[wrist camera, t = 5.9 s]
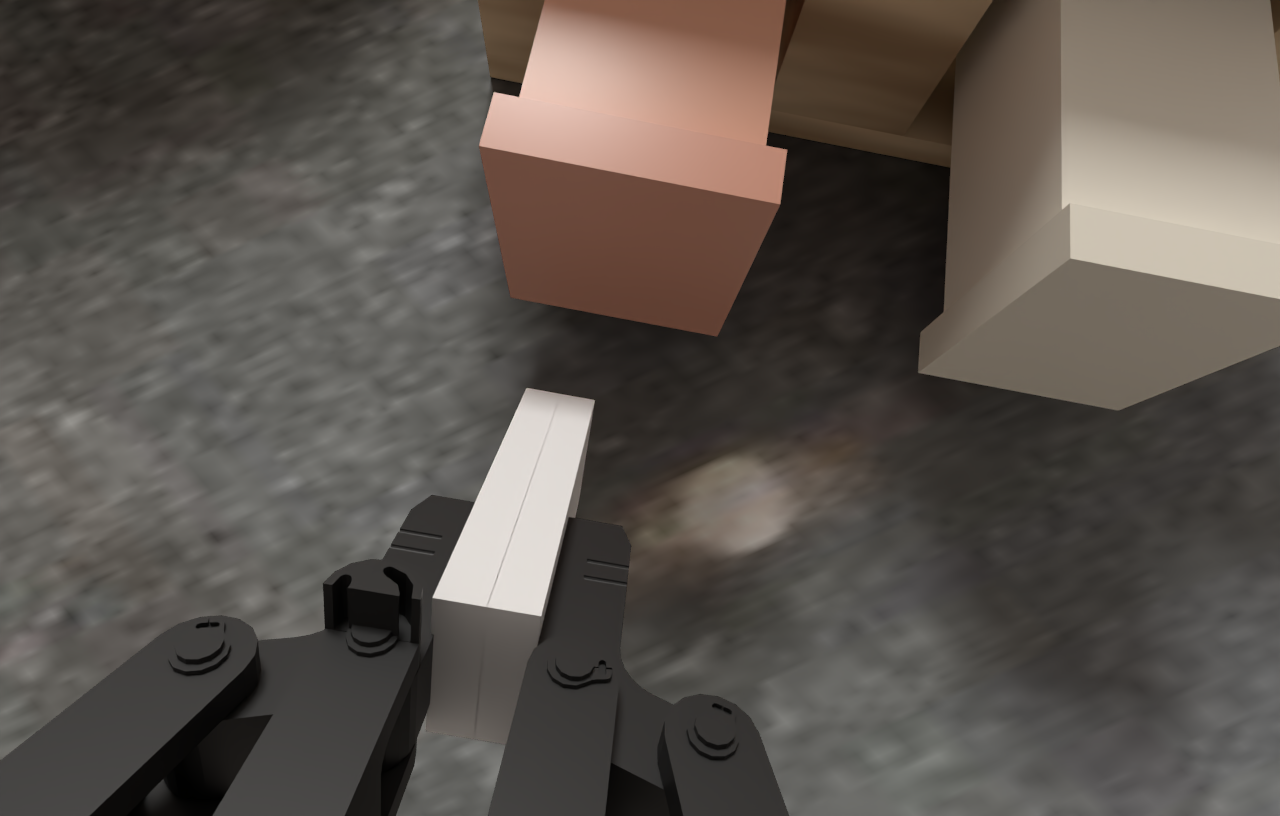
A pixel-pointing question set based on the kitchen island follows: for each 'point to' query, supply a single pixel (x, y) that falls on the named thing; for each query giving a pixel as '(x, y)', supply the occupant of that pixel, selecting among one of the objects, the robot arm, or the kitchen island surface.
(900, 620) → the kitchen island surface
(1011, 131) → the cream plug
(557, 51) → the rust plug
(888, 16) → the wooden box
